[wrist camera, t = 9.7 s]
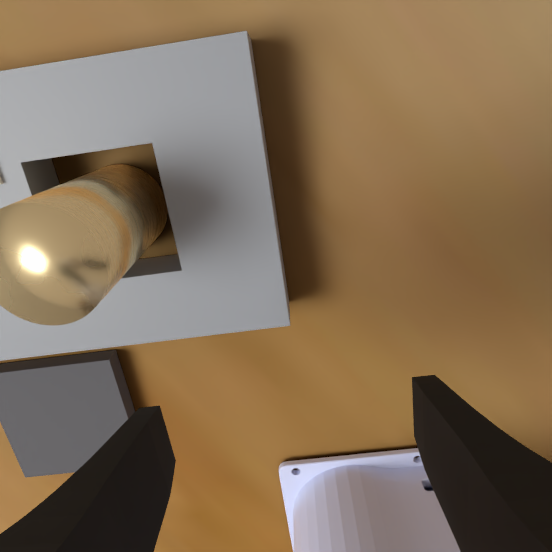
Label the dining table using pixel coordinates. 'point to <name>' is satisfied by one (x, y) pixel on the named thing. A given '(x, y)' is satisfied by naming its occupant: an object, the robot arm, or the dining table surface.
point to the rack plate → (175, 181)
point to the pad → (62, 409)
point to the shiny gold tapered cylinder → (76, 242)
